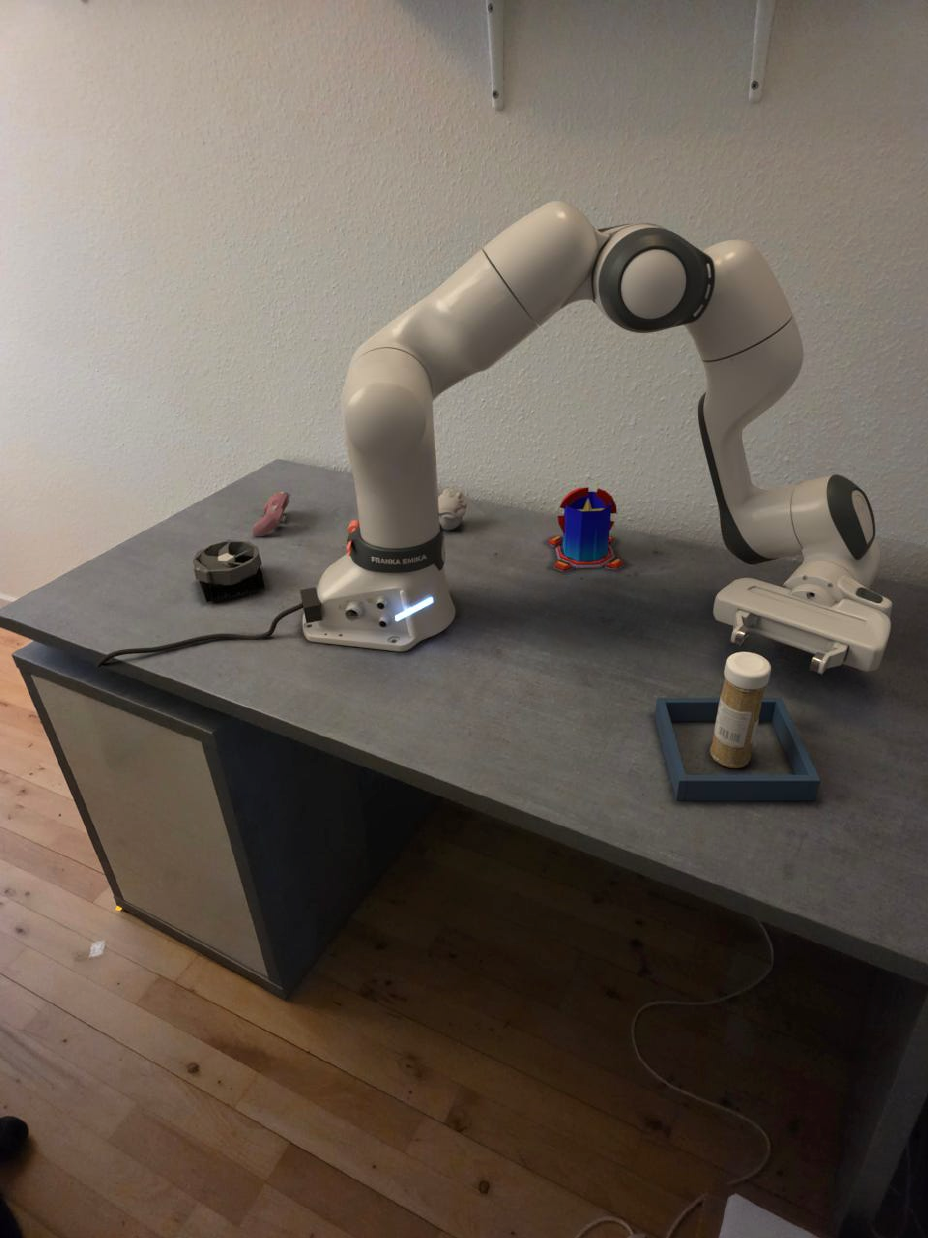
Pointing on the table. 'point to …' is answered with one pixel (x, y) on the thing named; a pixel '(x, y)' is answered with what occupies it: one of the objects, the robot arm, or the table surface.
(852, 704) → the table surface
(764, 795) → the square frame
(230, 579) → the cpu cooler
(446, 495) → the frog figurine
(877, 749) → the table surface
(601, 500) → the fantasy tower
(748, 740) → the sprinkles bottle
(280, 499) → the pink lumpy piece
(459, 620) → the table surface
